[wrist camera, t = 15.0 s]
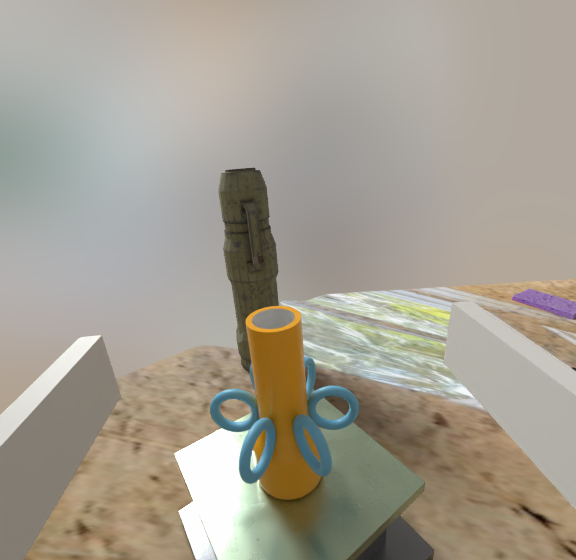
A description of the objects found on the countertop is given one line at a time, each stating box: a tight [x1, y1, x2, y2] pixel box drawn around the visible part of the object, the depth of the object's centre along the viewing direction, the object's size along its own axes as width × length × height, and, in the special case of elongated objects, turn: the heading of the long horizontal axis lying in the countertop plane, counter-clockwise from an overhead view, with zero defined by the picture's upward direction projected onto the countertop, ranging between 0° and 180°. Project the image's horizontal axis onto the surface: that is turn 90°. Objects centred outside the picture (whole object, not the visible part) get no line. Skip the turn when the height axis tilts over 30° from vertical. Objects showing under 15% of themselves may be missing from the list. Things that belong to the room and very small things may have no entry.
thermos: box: [219, 168, 279, 372], centre depth 55 cm, size 9×12×35 cm
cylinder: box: [210, 306, 359, 500], centre depth 25 cm, size 12×10×15 cm
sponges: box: [512, 289, 576, 320], centre depth 72 cm, size 7×13×2 cm, turn 26°
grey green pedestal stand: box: [175, 389, 434, 560], centre depth 30 cm, size 18×18×10 cm
